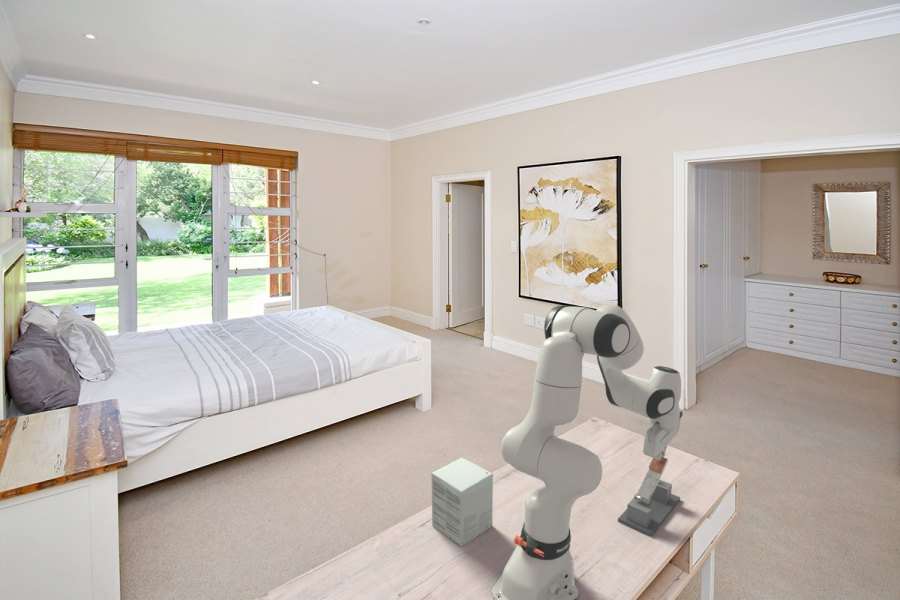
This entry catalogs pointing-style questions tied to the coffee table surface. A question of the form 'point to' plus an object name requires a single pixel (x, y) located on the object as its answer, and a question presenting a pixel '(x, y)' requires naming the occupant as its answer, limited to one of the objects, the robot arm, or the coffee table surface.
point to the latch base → (657, 516)
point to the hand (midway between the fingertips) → (659, 457)
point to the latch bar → (651, 480)
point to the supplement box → (462, 500)
